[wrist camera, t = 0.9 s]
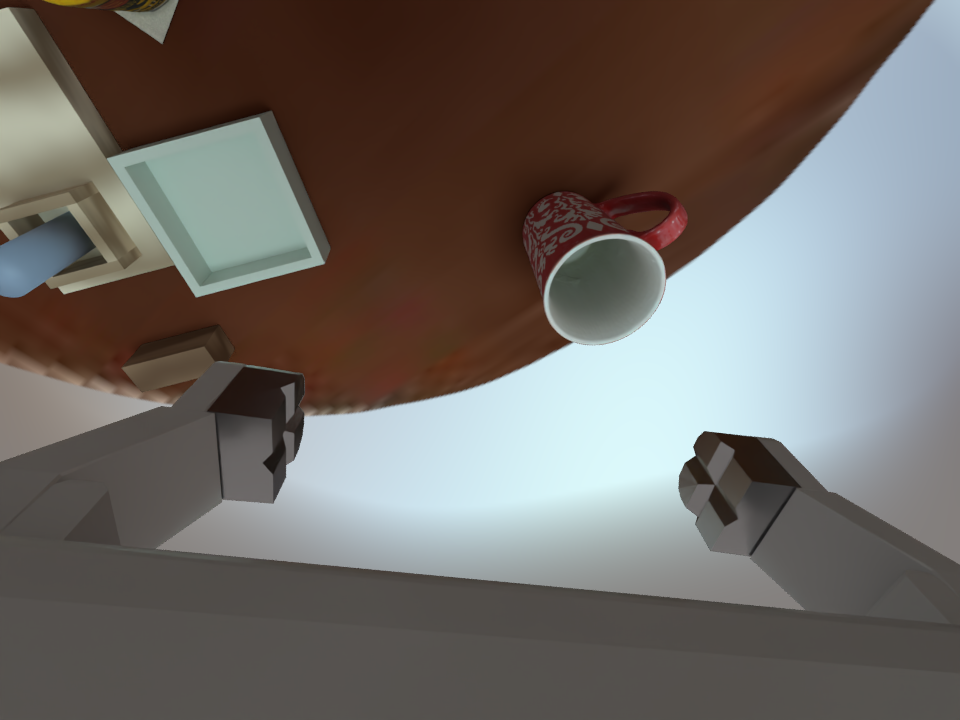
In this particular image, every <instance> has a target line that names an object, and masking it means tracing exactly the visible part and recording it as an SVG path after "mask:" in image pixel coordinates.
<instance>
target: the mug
mask: <svg viewBox="0 0 960 720" xmlns="http://www.w3.org/2000/svg"><path fill="white" fill-rule="evenodd" d="M653 210H666V211H670V213H669V215H668V216H667V217H666V218H665V219H664V220H663V221H662V222H661V223H660V224H658V225H656V226H655V227H654V228H652V229H650V230H647V231H644V232H636V231H633V230H626V229H625V228H624V227H622V226H621V225H620V224H618V223H617V222H616V221H614V220H613V219H615V218H617V217H620V216H623V215H627V214H633V213H638V212H646V211H653ZM686 225H687V213H686V211H685V209H684V207H683V206H682V204H681V203H680V202H679V200H678V199H677V198H676V197H674V196H673V195H671V194H669V193H665V192H658V191H650V192H641V193H635V194H630V195H625V196H621V197H617V198H613V199H610V200H606V201H603V202H600V203H595V204H593V203H591V202H590V201H589V200H588V199H586V198H585V197H583V196H582V195H579V194H577V193H574V192H568V191H562V192H556V193H553V194H550V195H548V196H546V197H544V198H542V199H541V200H539V201H538V202H537V203H536V204H535V205H534V206H533V207H532V208H531V210H530V211H529V213H528V215H527V217H526V219H525V222H524V225H523V242H524V246H525V249H526V252H527V255H528V257H529V260H530V263H531V266H532V269H533V272H534V274H535V277H536V280H537V283H538V286H539V289H540V292H541V295H542V297H543V305H544V310H545V314H546V317H547V319H548V321H549V323H550V325H551V326H552V327H553V328H554V329H555V330H556V331H557V332H558V333H559V334H560V335H561V336H563V337H564V338H566V339H568V340H570V341H572V342H575V343H579V344H583V345H602V344H607V343H612V342H615V341H618V340H620V339H622V338H625V337H627V336H628V335H630V334H632V333H633V332H635V331H636V330H637V329H639V328H640V327H641V326H643V325H644V323H646V322H647V321H648V320H649V319H650V317H651V316H652V315H653V314H654V312H655V311H656V309H657V308H658V306H659V304H660V302H661V300H662V297H663V294H664V291H665V286H666V271H665V266H664V263H663V260H662V258H661V256H660V255H659V253H658V252H657V250H659V249H661V248H663V247H665V246H667V245H668V244H670V243H671V242H673V241H674V240H675V239H676V238H677V237H678V236H679V235H680V234H681V233H682V232H683V230H684V229H685V227H686Z"/></svg>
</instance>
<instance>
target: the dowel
mask: <svg viewBox="0 0 960 720" xmlns="http://www.w3.org/2000/svg"><path fill="white" fill-rule="evenodd" d="M94 248H96V246H95V245H94V243H93V242H92V241H91V239H90V238H89V236H88V235H87V234H86V232H85V231H84V230H83V228H82V227H81V226H80V224H79V223H78V221H77V220H76V219H75V217H74V216H73V215H72V213H71V212H70V211H68V212H66V213H64V214H62V215H60V216H58V217H56V218H54V219H52V220H50V221H48V222H46V223H44V224H42V225H40V226H38V227H36V228H34V229H32V230H31V231H29V232H27V233H25V234H23V235H21V236H19V237H17V238H15V239H13V240H11V241H9V242H7V243H5V244H3V245H1V246H0V295H2V296H6V297H21V296H23V295H25V294H27V293H28V292H30V291H31V290H33V289H34V288H36V287H37V286H39V285H40V284H42V283H43V282H45V281H46V280H48V279H49V278H51V277H52V276H54V275H55V274H57V273H58V272H60V271H61V270H63V269H64V268H66V267H67V266H69V265H70V264H72V263H73V262H75V261H76V260H78V259H79V258H81V257H82V256H84V255H85V254H87V253H88V252H90V251H91V250H93V249H94Z"/></svg>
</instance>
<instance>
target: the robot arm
mask: <svg viewBox="0 0 960 720" xmlns="http://www.w3.org/2000/svg"><path fill="white" fill-rule="evenodd" d="M304 394H305V379H304V376H303V374H302V373H296V372H289V371H283V370H277V369H271V368H264V367H258V366H252V365H246V364H240V363H232V362H224V361H218V362H215V363H213V364H212V365H211V366H210V367H209V368H208V370H207V371H206V372H205V373H204V374H203V375H202V376H201V377H200V378H199V379H198V380H197V381H196V382H195V383H194V384H193V385H192V386H191V387H190V388H189V389H188V390H187V391H186V392H185V393H184V394H183V395H182V396H181V397H180V398H179V399H178V400H177V401H176V402H175V404H174V405H173V406H172V407H164V406H161V407H158V408H155V409H152V410H149V411H146V412H143V413H140V414H137V415H135V416H132V417H129V418H126V419H123V420H120V421H117V422H114V423H111V424H108V425H106V426H103V427H100V428H97V429H94V430H91V431H88V432H85V433H83V434H80V435H77V436H74V437H71V438H68V439H65V440H62V441H59V442H56V443H54V444H51V445H48V446H45V447H42V448H39V449H36V450H33V451H31V452H28V453H25V454H22V455H19V456H16V457H13V458H10V459H7V460H4V461H1V462H0V720H960V565H959V564H958V563H956V562H954V561H953V560H951V559H949V558H947V557H946V556H943V555H942V554H940V553H939V552H937V551H935V550H933V549H932V548H930V547H928V546H927V545H925V544H923V543H921V542H920V541H918V540H916V539H914V538H913V537H911V536H909V535H908V534H906V533H904V532H902V531H901V530H899V529H897V528H895V527H894V526H892V525H890V524H888V523H887V522H885V521H883V520H881V519H880V518H878V517H876V516H875V515H873V514H871V513H869V512H867V511H866V510H864V509H862V508H861V507H859V506H857V505H855V504H854V503H852V502H850V501H849V500H847V499H845V498H843V497H842V496H840V495H838V494H836V493H833V492H828V491H827V490H826V489H825V488H824V487H823V486H822V485H821V484H820V483H819V482H818V481H817V480H816V479H815V478H814V476H813V475H812V474H811V473H810V472H809V471H808V470H807V469H806V468H805V467H804V466H803V465H802V464H801V463H800V462H799V461H798V460H797V459H796V458H795V457H794V456H793V455H792V454H791V453H790V452H789V450H788V449H787V448H786V447H785V446H784V445H783V444H782V443H781V442H779V441H777V440H775V439H772V438H762V437H752V436H742V435H733V434H724V433H715V432H707V431H704V432H703V433H702V434H701V435H700V436H699V437H698V438H697V440H696V442H695V444H694V446H693V448H694V451H695V454H696V456H695V457H693V458H692V459H690V460H689V461H687V462H686V463H685V464H684V466H683V469H682V471H681V473H680V475H679V492H680V497H681V499H682V501H683V503H684V505H685V507H686V508H687V509H689V510H690V511H691V512H692V513H694V514H695V515H696V516H697V520H696V524H695V525H696V526H697V528H698V530H699V532H700V533H701V535H702V537H703V539H704V541H705V542H706V544H707V546H708V548H709V549H710V551H715V552H721V553H729V554H736V555H743V556H751V558H750V559H751V560H752V561H753V562H754V563H756V564H757V565H758V566H759V567H760V568H761V569H762V570H763V571H764V572H765V573H766V574H767V575H768V576H770V577H771V578H772V579H773V580H774V581H775V582H776V583H777V584H778V585H779V586H780V587H781V588H782V589H784V590H785V591H786V592H787V593H788V594H789V595H790V596H791V597H792V598H793V599H794V600H795V601H797V602H798V603H799V604H800V605H801V606H802V607H803V608H804V609H805V610H806V611H805V610H795V609H784V608H774V607H763V606H753V605H742V604H731V603H722V602H710V601H700V600H690V599H680V598H670V597H659V596H648V595H638V594H627V593H616V592H605V591H595V590H584V589H573V588H563V587H552V586H541V585H530V584H520V583H508V582H498V581H487V580H477V579H465V578H455V577H444V576H434V575H423V574H413V573H402V572H391V571H380V570H370V569H359V568H349V567H339V566H327V565H318V564H306V563H296V562H286V561H274V560H264V559H254V558H244V557H233V556H222V555H211V554H201V553H191V552H180V551H170V550H158V549H156V548H157V547H158V546H160V545H161V544H163V543H164V542H166V541H167V540H168V539H170V538H171V537H173V536H174V535H176V534H177V533H179V532H180V531H181V530H183V529H184V528H186V527H187V526H189V525H190V524H191V523H193V522H194V521H196V520H197V519H199V518H200V517H201V516H203V515H204V514H206V513H207V512H209V511H210V510H211V509H213V508H214V507H216V506H217V505H218V504H220V503H221V502H222V499H223V500H236V501H247V502H260V503H274V501H275V499H276V497H277V495H278V493H279V491H280V488H281V487H282V484H283V482H284V480H285V478H286V465H287V464H289V463H290V462H292V461H294V459H295V457H296V454H297V452H298V450H299V446H300V443H301V439H302V435H303V427H304V412H303V411H302V409H301V408H300V407H299V404H300V402H301V400H302V398H303V396H304Z"/></svg>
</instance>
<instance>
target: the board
mask: <svg viewBox="0 0 960 720" xmlns="http://www.w3.org/2000/svg"><path fill="white" fill-rule="evenodd" d="M122 152H123V151H122V150H121V148H120V147H119V145H118V143H117V142H116V140H115V139H114V137H113V135H112V134H111V132H110V131H109V129H108V127H107V126H106V124H105V123H104V121H103V119H102V118H101V116H100V114H99V113H98V111H97V110H96V108H95V106H94V105H93V103H92V102H91V100H90V98H89V97H88V95H87V94H86V92H85V90H84V89H83V87H82V86H81V84H80V82H79V81H78V79H77V78H76V76H75V74H74V73H73V71H72V70H71V68H70V66H69V65H68V63H67V61H66V60H65V58H64V57H63V55H62V53H61V52H60V50H59V49H58V47H57V45H56V44H55V42H54V41H53V39H52V37H51V36H50V34H49V33H48V31H47V29H46V28H45V26H44V25H43V23H42V21H41V20H40V18H39V16H38V15H37V13H36V12H35V10H34V9H25V8H11V7H7V8H4V9H0V229H1V230H2V231H3V232H4V234H5V235H6V236H7V237H8V238H9V240H10V241H11V240H13V239H15V238H17V237H19V236H21V235H23V234H25V233H27V232H29V231H31V230H32V229H34V228H36V227H38V226H40V225H42V224H44V223H46V222H48V221H50V220H52V219H54V218H56V217H58V216H60V215H62V214H64V213H66V212H68V211H70V212H71V213H72V215H73V216H74V217H75V219H76V220H77V221H78V223H79V224H80V226H81V227H82V228H83V230H84V231H85V232H86V234H87V235H88V236H89V238H90V239H91V241H92V242H93V243H94V245H95V246H96V248H94V249H93V250H91V251H90V252H88V253H87V254H85V255H84V256H82V257H81V258H79V259H78V260H76V261H75V262H73V263H72V264H70V265H69V266H67V267H66V268H64V269H63V270H61V271H60V272H58V273H57V274H55V275H54V276H52V277H51V278H49V279H48V280H46V281H45V282H46V284H47V285H48V286H49V287H50V288H51V289H53V288H56V287H58V288H59V289H60V290H61V291H62V292H63V294H66V293H70V292H74V291H77V290H81V289H85V288H89V287H93V286H96V285H100V284H104V283H108V282H112V281H115V280H119V279H123V278H127V277H131V276H134V275H138V274H142V273H146V272H150V271H153V270H157V269H161V268H165V267H169V266H172V265H175V264H174V262H173V261H172V259H171V258H170V256H169V254H168V253H167V251H166V250H165V248H164V247H163V245H162V244H161V242H160V241H159V239H158V237H157V236H156V234H155V233H154V231H153V230H152V228H151V227H150V225H149V224H148V222H147V220H146V219H145V217H144V216H143V214H142V213H141V211H140V210H139V208H138V207H137V205H136V203H135V202H134V200H133V199H132V197H131V196H130V194H129V193H128V191H127V190H126V188H125V186H124V185H123V183H122V182H121V180H120V179H119V177H118V176H117V174H116V173H115V171H114V169H113V168H112V166H111V165H110V163H109V162H108V160H107V158H109V157H112V156H114V155H117V154H119V153H122Z"/></svg>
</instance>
